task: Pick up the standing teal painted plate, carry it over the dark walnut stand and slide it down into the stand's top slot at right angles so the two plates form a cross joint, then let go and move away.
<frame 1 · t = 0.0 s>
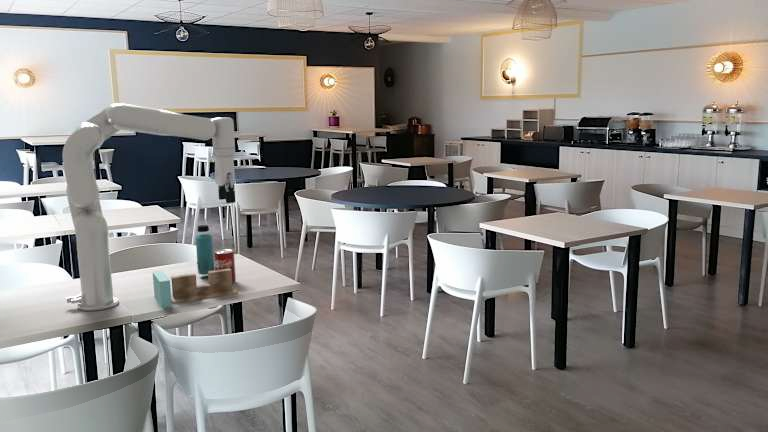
hand: (227, 200, 236), 31 cm above the table, tool pointing down, fingers open, 9 cm apart
beverage bottle: (206, 277, 255), on the table
teal plate: (163, 301, 224), on the table
soda can: (225, 283, 245), on the table
walnut slotted stand: (203, 295, 230), on the table
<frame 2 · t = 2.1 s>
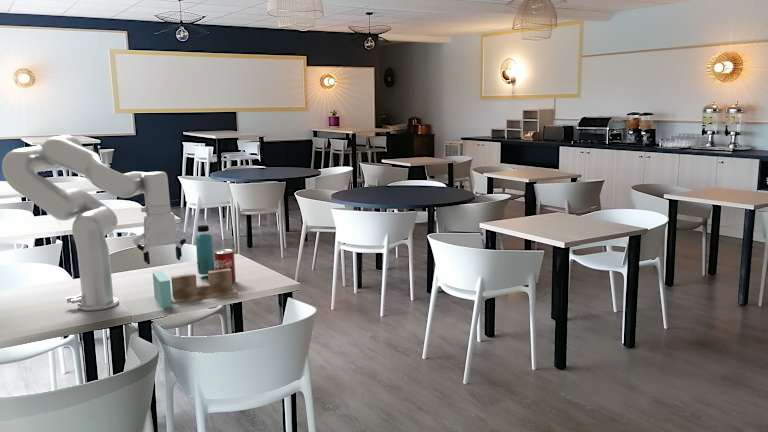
hand: (163, 261, 218), 15 cm above the table, tool pointing down, fingers open, 9 cm apart
nothing on the table moved.
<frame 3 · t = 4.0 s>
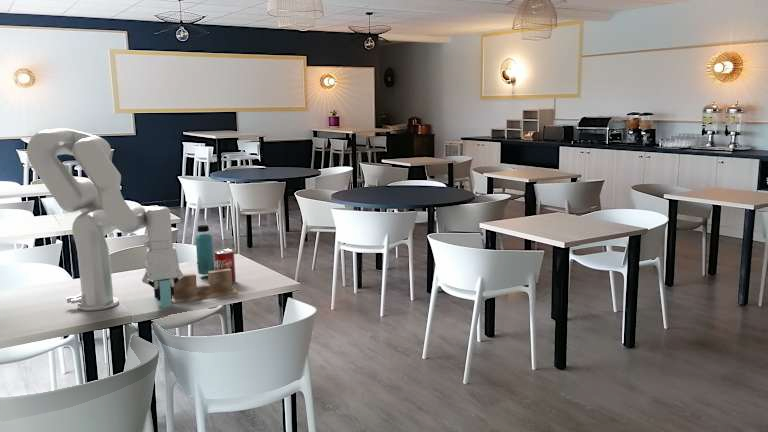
hand: (164, 298, 220), 2 cm above the table, tool pointing down, fingers closed on teal plate, 3 cm apart
teal plate: (163, 301, 224), on the table, touching gripper
everything else where it was.
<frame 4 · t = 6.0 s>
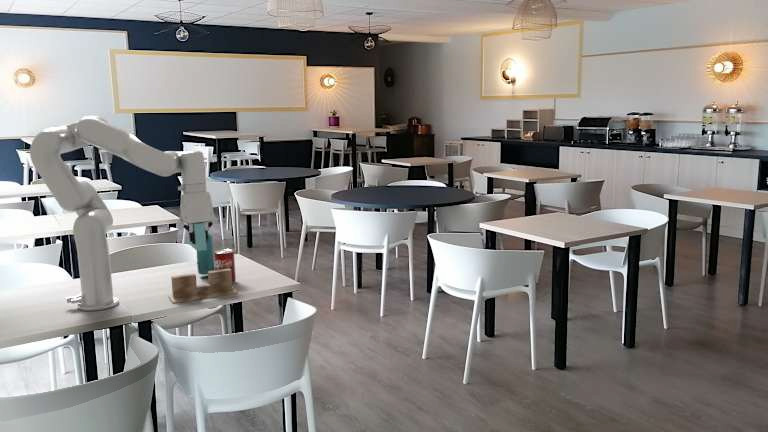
hand: (199, 242, 222), 20 cm above the table, tool pointing down, fingers closed on teal plate, 3 cm apart
teal plate: (197, 246, 226), point 18 cm above the table, touching gripper
everything else where it was.
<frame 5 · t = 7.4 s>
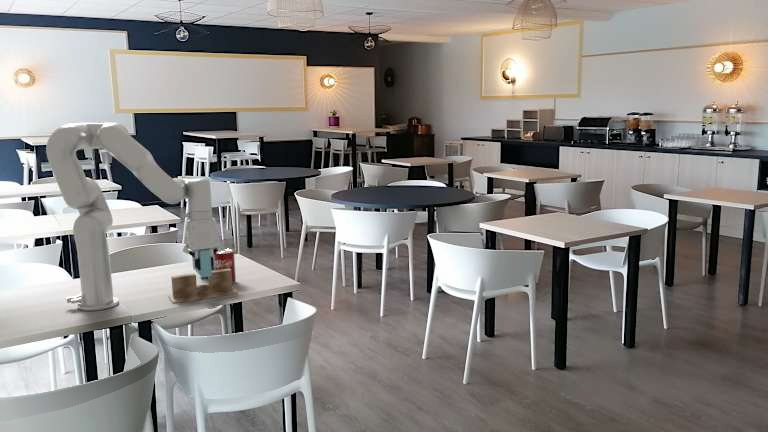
hand: (204, 268, 225), 11 cm above the table, tool pointing down, fingers closed on teal plate, 3 cm apart
teal plate: (202, 272, 228), point 8 cm above the table, touching gripper
everything else where it was.
when the fingers open (7 cm above the table, at t = 8.3 s): teal plate drops 1 cm, resting on walnut slotted stand.
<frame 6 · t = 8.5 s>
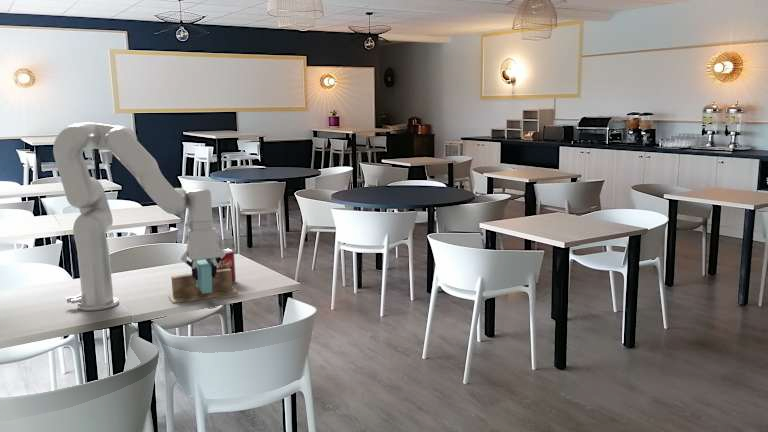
hand: (204, 277, 225), 7 cm above the table, tool pointing down, fingers open, 5 cm apart
teal plate: (202, 285, 229), point 4 cm above the table, tilted 6°, touching walnut slotted stand
everything else where it was.
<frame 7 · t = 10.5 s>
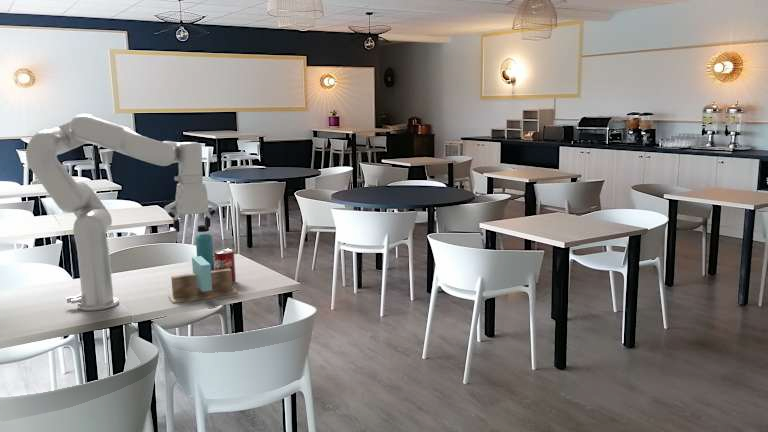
hand: (192, 230, 223), 24 cm above the table, tool pointing down, fingers open, 9 cm apart
teal plate: (202, 286, 229), point 3 cm above the table, touching walnut slotted stand
everything else where it was.
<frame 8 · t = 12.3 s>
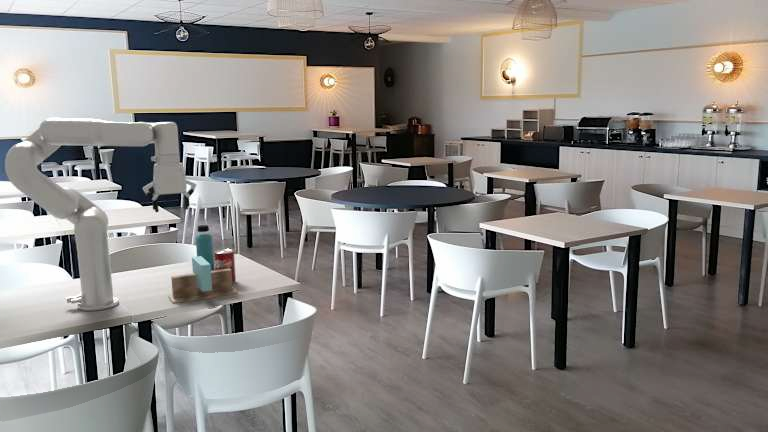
hand: (171, 210, 223), 30 cm above the table, tool pointing down, fingers open, 9 cm apart
nothing on the table moved.
at the end: teal plate 0.3 cm off-centre on the walnut slotted stand, point 3.5 cm above the walnut slotted stand's base; teal plate tilted 0°; the gripper is holding nothing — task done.
